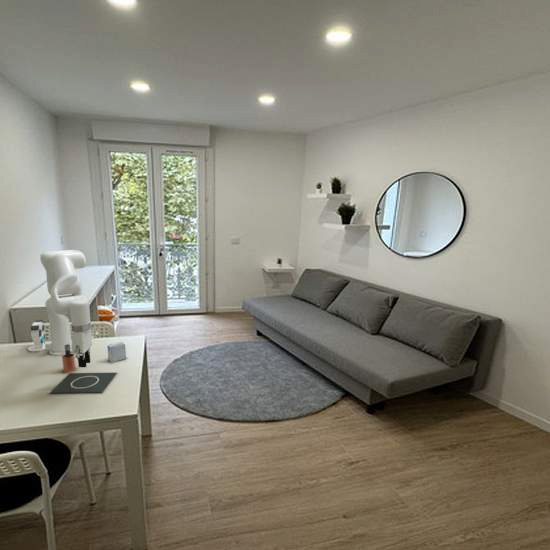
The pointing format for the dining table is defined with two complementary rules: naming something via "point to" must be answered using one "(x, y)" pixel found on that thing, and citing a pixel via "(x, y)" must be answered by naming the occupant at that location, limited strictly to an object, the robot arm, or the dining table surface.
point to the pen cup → (68, 363)
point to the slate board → (83, 383)
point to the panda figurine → (38, 336)
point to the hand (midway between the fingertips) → (84, 364)
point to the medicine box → (116, 352)
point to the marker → (67, 351)
